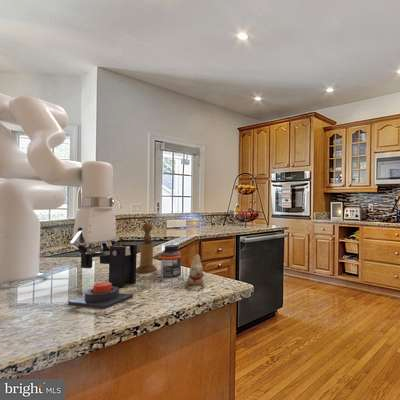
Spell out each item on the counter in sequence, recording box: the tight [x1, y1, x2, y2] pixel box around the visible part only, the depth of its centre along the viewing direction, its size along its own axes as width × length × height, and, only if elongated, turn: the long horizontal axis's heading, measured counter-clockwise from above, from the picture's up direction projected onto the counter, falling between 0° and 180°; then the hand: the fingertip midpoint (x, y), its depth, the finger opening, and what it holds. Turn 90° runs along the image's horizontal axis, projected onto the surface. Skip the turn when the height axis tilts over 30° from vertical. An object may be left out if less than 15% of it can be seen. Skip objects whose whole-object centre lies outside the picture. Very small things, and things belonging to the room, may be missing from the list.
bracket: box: [108, 243, 138, 289], centre depth 80 cm, size 10×8×13 cm
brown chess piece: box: [136, 222, 158, 274], centre depth 97 cm, size 7×6×18 cm
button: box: [92, 281, 112, 293], centre depth 67 cm, size 4×4×2 cm
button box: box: [67, 286, 134, 310], centre depth 67 cm, size 10×8×4 cm
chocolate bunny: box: [186, 254, 205, 290], centre depth 84 cm, size 6×8×10 cm
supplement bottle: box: [160, 244, 182, 279], centre depth 91 cm, size 6×6×11 cm
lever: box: [90, 246, 131, 258], centre depth 81 cm, size 12×5×2 cm, turn 78°
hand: (96, 265), depth 82 cm, fingers closed on lever, 5 cm apart
